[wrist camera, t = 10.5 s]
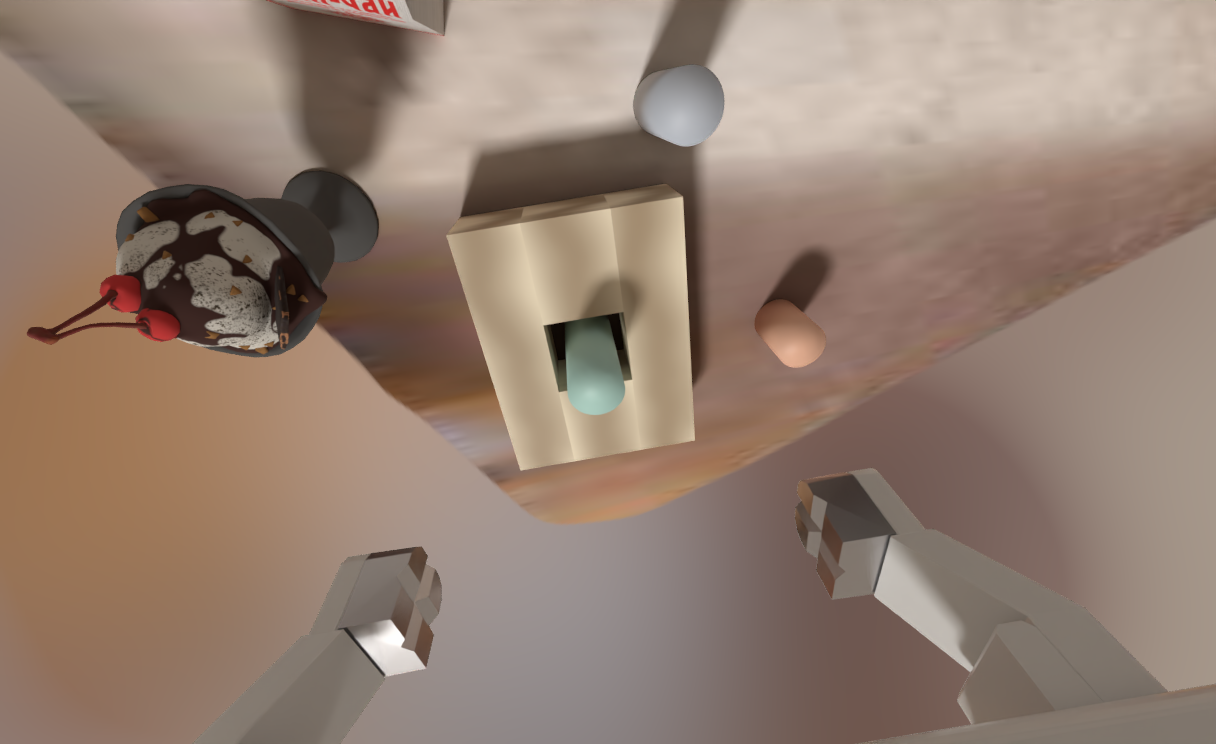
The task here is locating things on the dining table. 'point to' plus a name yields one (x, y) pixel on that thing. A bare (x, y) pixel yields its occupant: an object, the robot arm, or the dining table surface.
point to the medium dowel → (680, 104)
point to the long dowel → (592, 366)
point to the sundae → (231, 263)
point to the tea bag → (380, 12)
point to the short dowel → (790, 333)
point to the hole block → (582, 317)
